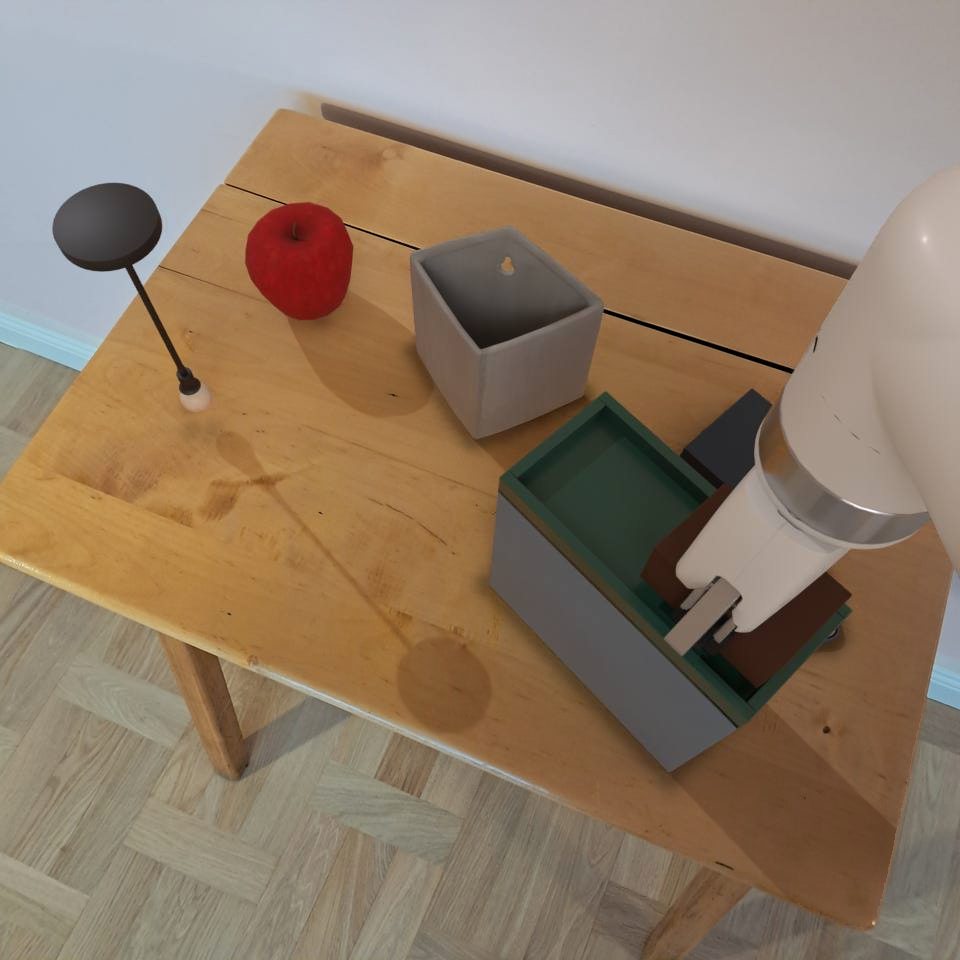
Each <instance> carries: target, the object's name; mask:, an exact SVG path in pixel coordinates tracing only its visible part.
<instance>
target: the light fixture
mask: <svg viewBox="0 0 960 960" xmlns="http://www.w3.org/2000/svg"><path fill="white" fill-rule="evenodd" d="M51 231H52V236H53V239H54V241H55V243H56V245H57V247H58V249H59V250H60V252H61V253H62V255H63V256H64V257H65V259H66V260H67V261H69V262H70V263H71V264H72V265H75V266H76V267H79V268H81V269H83V270H86V271H91V272H100V273H103V272H114V271H119V270H123V269H125V271H126V273H127V274H128V276H129V278H130V280H131V282H132V284H133V287H134V288H135V289H136V290H135V291H137V293H138V295H139V297H140V299H141V301H142V303H143V305H144V306H145V309H146V311H147V312H148V314H149V317H150V318H151V320H152V322H153V324H154V326H155V328H156V330H157V331H158V332H157V333H158V334H159V335H160V337H161V340H162V341H163V343H164V345H165V347H166V349H167V351H168V353H169V355H170V357H171V358H172V360H173V362H174V364H175V366H176V373H175V376H176V378H177V380H178V381H179V384H178V391H179V395H178V396H179V397H178V398H179V400H180V403H181V406H182V407H184V408H185V409H186V410H187V411H189V412H192V413H199V412H203V411H205V410H206V409H208V408H209V406H210V405H211V403H212V401H213V400H212V399H213V394H212V390H211V389H210V387H209V386H208V385H207V384H206V383H203V382H202V381H201V380H200V379H198V378H197V377H195V376H194V374H193V371H192V369H191V368H189V367H187V366H185V365H184V364H183V362H182V360H181V358H180V356H179V354H178V352H177V350H176V348H175V346H174V344H173V342H172V340H171V338H170V336H169V333H168V332H167V330H166V328H165V326H164V325H163V323H162V321H161V318H160V316H159V315H158V313H157V311H156V309H155V306H154V304H153V303H152V301H151V299H150V296H149V294H148V293H147V291H146V289H145V287H144V285H143V283H142V281H141V279H140V277H139V276H138V275H139V274H138V273H137V271H136V269H135V267H134V266H133V265H135V264H137V263H139V262H140V261H142V260H143V259H145V258H146V257H147V256H148V255H150V254H151V252H152V251H154V249H155V248H156V246H157V245H158V243H159V242H160V240H161V237H162V233H163V219H162V216H161V214H160V211H159V209H158V206H157V204H156V202H155V201H154V199H153V198H152V197H151V195H150V194H149V193H148V192H146V191H144V189H142V188H140V187H138V186H136V185H132V184H129V183H123V182H104V183H98V184H94V185H91V186H88V187H86V188H83V189H81V190H79V191H77V192H76V193H74V194H72V195H71V196H69V197H68V198H67V200H65V201H64V202H63V203H62V204H61V205H60V207H59V208H58V210H57V211H56V213H55V215H54V217H53V221H52V230H51Z"/></svg>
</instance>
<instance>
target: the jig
mask: <svg viewBox="0 0 960 960" xmlns="http://www.w3.org/2000/svg"><path fill="white" fill-rule="evenodd" d="M715 491H717V489H716V488H715V487H713V486H712V485H711V484H710V483H709V482H708V481H707V480H706V479H704V478H703V477H702V476H701V475H700V474H699V473H698V472H697V471H695V470H694V469H693V468H692V467H691V466H690V465H689V464H688V463H686V462H685V461H684V460H683V459H682V458H681V457H680V455H679V454H678V453H677V452H675V451H674V450H673V449H672V448H671V447H670V446H668V444H666V443H665V442H664V441H663V440H662V439H661V438H660V437H659V436H657V435H656V434H655V433H654V432H653V431H652V430H651V429H649V428H648V427H647V426H646V424H644V423H643V422H641V420H639V419H638V418H637V417H636V416H635V415H634V414H632V413H631V412H630V411H629V410H628V409H627V408H626V407H625V406H624V405H622V404H621V403H620V402H619V401H618V400H617V399H616V398H615V397H613V396H612V395H611V394H610V393H609V392H608V391H607V390H604V391H603V392H602V393H601V394H600V395H598V396H597V397H596V398H595V399H594V400H592V401H591V402H590V403H588V404H587V405H586V406H585V407H583V409H581V410H579V412H577V413H576V414H574V416H573V417H572V418H569V420H567V421H566V422H565V423H564V424H563V425H561V426H560V427H559V428H558V429H556V431H553V433H552V434H550V435H549V436H548V437H547V438H545V439H544V440H543V441H541V442H540V443H539V444H538V445H537V446H536V447H534V448H533V449H532V450H530V451H529V452H527V454H526V455H524V456H523V457H522V458H520V460H518V461H517V462H516V463H515V464H514V465H512V466H511V467H510V468H509V469H508V470H506V471H505V472H504V473H503V474H501V475H500V476H499V477H498V487H497V493H498V492H499V493H500V494H501V495H502V496H503V497H504V498H505V499H506V500H507V501H508V502H509V503H510V504H511V505H512V506H513V507H514V508H515V509H516V510H517V511H518V512H519V513H520V514H521V515H522V516H523V517H524V518H525V519H526V520H527V521H528V522H529V523H530V524H531V525H532V526H533V527H534V528H535V529H536V530H537V531H538V532H539V533H540V534H541V535H542V536H543V537H544V538H545V539H546V540H547V541H548V542H549V543H550V544H551V545H552V546H553V547H554V548H555V549H556V550H557V551H558V552H559V553H560V554H561V555H562V556H563V557H564V558H565V559H566V560H567V561H568V562H569V563H570V564H571V565H572V566H573V567H574V568H575V569H576V570H577V571H578V572H579V573H580V574H581V575H583V576H584V577H585V578H586V579H587V580H588V581H589V582H590V583H591V584H592V585H593V586H594V587H595V588H596V589H597V590H598V591H599V592H600V593H601V594H602V595H603V596H604V597H605V598H606V599H607V600H608V601H609V602H610V603H611V604H612V605H613V606H614V607H615V608H616V609H617V610H618V611H619V612H620V613H621V614H622V615H623V616H624V617H625V618H626V619H627V620H628V621H629V622H630V623H631V624H632V625H633V626H634V627H635V628H636V629H637V630H638V631H639V632H640V633H641V634H642V635H643V636H644V637H645V638H646V639H647V640H648V641H649V642H650V643H651V644H652V645H653V646H654V647H655V648H656V649H657V650H658V651H659V652H660V653H661V654H662V655H663V656H664V657H665V658H666V659H667V660H668V661H669V662H670V663H671V664H672V665H673V666H674V667H675V668H676V669H677V670H678V671H679V672H680V673H681V674H682V675H683V676H684V677H685V678H686V679H687V680H688V681H689V682H690V683H691V684H692V685H693V686H694V687H695V688H696V689H697V690H698V691H699V692H700V693H701V694H702V695H703V696H704V697H705V698H706V699H707V700H708V701H709V702H711V703H712V704H713V705H714V706H715V707H716V708H717V709H718V710H719V711H720V712H721V713H722V714H723V715H724V716H725V717H726V718H727V719H728V720H729V721H730V722H731V723H732V724H733V725H734V726H735V727H736V728H737V730H739V729H740V728H742V727H743V726H744V725H747V724H748V723H749V722H751V720H753V718H754V717H755V716H756V715H757V714H758V713H759V712H760V711H761V710H762V708H763V707H765V705H767V703H769V701H770V700H771V699H772V698H773V697H774V696H775V695H776V694H777V693H778V692H779V690H780V689H781V688H782V687H783V686H784V685H785V684H787V682H788V681H789V680H790V679H791V678H792V677H793V676H794V675H795V674H796V673H797V672H798V670H799V669H801V667H802V666H803V665H805V663H806V662H807V661H808V660H809V658H811V656H813V655H814V653H816V651H817V650H818V649H819V648H820V647H821V646H822V645H823V644H824V643H823V642H824V641H825V640H826V639H827V638H828V637H829V636H830V635H831V634H832V633H833V632H834V631H835V630H836V629H837V628H838V627H839V628H840V626H841V625H842V624H843V622H844V621H845V620H846V619H847V618H848V617H849V616H850V615H851V614H852V613H853V609H852V608H851V607H850V606H849V605H848V604H847V603H845V604H844V605H843V606H842V607H841V608H840V609H839V610H838V611H837V612H836V613H835V614H834V615H833V616H832V617H831V618H830V619H829V620H828V621H827V622H826V624H825V625H824V626H823V627H822V628H821V629H820V630H819V631H818V632H817V633H816V634H815V635H814V636H813V637H812V638H811V639H810V640H809V641H808V642H807V643H806V645H805V646H804V647H803V648H802V649H801V650H800V651H799V652H798V653H797V654H796V655H795V656H794V657H793V658H792V659H791V660H790V661H789V662H788V663H787V664H786V666H785V667H784V668H782V669H781V670H780V671H779V672H777V673H776V674H775V675H773V676H772V677H771V678H769V679H768V680H767V681H765V682H764V683H763V684H762V685H760V686H759V687H757V688H756V687H755V686H754V685H752V684H751V683H750V682H749V681H748V680H747V679H746V678H745V677H744V676H743V675H742V674H741V673H740V672H739V671H738V670H737V669H736V668H735V667H734V666H733V665H732V664H731V663H730V662H729V661H728V660H727V659H725V658H724V657H723V656H722V655H721V654H720V653H719V652H718V653H717V654H716V655H715V656H712V655H710V654H708V653H707V652H706V651H705V650H704V649H703V648H702V647H701V648H700V649H696V648H694V647H692V648H691V649H690V650H689V651H688V652H687V653H686V654H684V655H683V656H682V657H681V656H680V655H679V654H678V653H677V652H676V651H675V650H674V649H673V648H672V647H671V646H670V645H669V644H668V643H667V642H666V641H665V640H664V637H665V636H666V635H667V634H668V633H669V632H670V631H671V630H672V629H673V628H674V627H675V626H676V625H675V623H676V622H675V621H674V619H673V618H672V614H673V613H674V611H675V609H673V608H672V607H671V606H670V605H669V604H668V603H667V602H666V601H665V600H664V599H663V598H662V597H661V596H660V595H659V594H658V593H657V592H656V591H655V590H654V589H653V588H652V587H651V586H650V585H649V584H648V583H646V582H645V581H644V580H643V579H642V578H641V577H640V574H641V572H642V570H643V568H644V567H645V565H646V563H647V561H648V559H649V557H650V555H651V553H652V551H653V549H654V548H655V546H656V545H658V544H659V543H660V542H661V541H662V540H663V539H664V538H665V537H666V536H667V535H668V534H670V533H671V532H672V531H673V530H674V529H675V528H676V527H677V526H678V525H679V524H680V523H682V522H683V521H684V520H685V519H686V518H687V517H688V516H689V515H690V514H691V513H693V512H694V511H695V510H696V509H697V508H698V507H699V506H700V505H701V504H702V503H703V502H705V501H706V500H707V499H708V498H709V497H710V496H711V495H712V494H713V493H714V492H715Z"/></svg>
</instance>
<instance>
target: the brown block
mask: <svg viewBox="0 0 960 960" xmlns="http://www.w3.org/2000/svg"><path fill="white" fill-rule="evenodd" d="M732 491H733V489H732V488H730V487H729V486H728V485H727V484H723V485H722V486H721V487H720V488H719V489H718V490H717V491H715V492H714V493H713V494H712V495H711V496H710V497H709V498H708V499H707V500H706V501H705V502H703V503H702V504H701V505H700V506H699V507H698V508H697V509H696V510H695V511H694V512H693V513H691V514H690V515H689V516H688V517H687V518H686V519H685V520H684V521H683V522H682V523H680V524H679V525H678V526H677V527H676V528H675V529H674V530H673V531H672V532H671V533H670V534H668V535H667V536H666V537H665V538H664V539H663V540H662V541H661V542H660V543H659V544H658V545H656V546H655V548H654V549H653V551H652V553H651V555H650V557H649V559H648V561H647V563H646V565H645V567H644V568H643V570H642V572H641V574H640V577H641V578H642V579H643V580H644V581H645V582H646V583H648V584H649V585H650V586H651V587H652V588H653V589H654V590H655V591H656V592H657V593H658V594H659V595H660V596H661V597H662V598H663V599H664V600H665V601H666V602H667V603H668V604H669V605H670V606H671V607H672V608H673V609H675V610H676V609H677V607H678V606H679V604H680V603H681V601H682V600H683V599H684V597H685V596H686V594H687V593H688V592H689V591H690V590H692V589H689V588H687V587H686V586H685V585H684V584H683V583H682V582H681V581H680V580H679V578H678V577H677V576H676V566H677V563H678V562H679V560H680V559H681V558H682V556H683V555H684V554H685V552H686V551H687V550H688V548H689V547H690V546H691V544H692V543H693V542H694V540H695V539H696V538H697V536H698V535H699V534H700V532H701V531H702V530H703V528H704V527H705V525H706V524H707V523H708V521H709V520H710V519H711V518H712V516H713V515H714V514H715V512H716V511H717V510H718V509H719V507H720V506H721V505H722V503H723V502H724V501H725V500H726V498H727V497H728V496H729V495H730V494H731V492H732ZM852 595H853V594H852V593H851V592H850V591H849V589H847V588H846V587H844V585H842V584H841V583H840V582H839V581H837V580H836V579H835V578H834V577H833V576H832V575H831V574H830V573H828V571H825V572H824V573H823V574H822V575H821V576H820V577H818V578H817V579H816V580H815V581H814V582H812V583H811V584H810V585H809V586H808V587H806V588H805V589H804V590H803V591H802V592H801V593H799V594H798V595H797V596H796V597H794V598H793V599H792V600H791V601H789V602H788V603H787V604H786V605H784V606H783V607H782V608H781V609H779V610H778V611H777V612H776V613H774V614H773V615H772V616H771V617H769V618H768V619H767V620H765V621H764V622H763V623H762V624H760V625H759V626H758V627H756V628H755V629H754V630H752V631H751V632H737V633H736V634H735V636H734V637H733V638H732V639H731V640H730V641H729V642H728V643H727V644H726V645H725V646H724V647H723V648H722V649H721V650H720V651H719V653H720V654H721V655H722V656H723V657H724V658H725V659H727V660H728V661H729V662H730V663H731V664H732V665H733V666H734V667H735V668H736V669H737V670H738V671H739V672H740V673H741V674H742V675H743V676H744V677H745V678H746V679H747V680H748V681H749V682H750V683H751V684H752V685H754V686H755V687H756V688H757V687H759V686H760V685H762V684H763V683H764V682H765V681H767V680H768V679H769V678H771V677H772V676H773V675H775V674H776V673H777V672H779V671H780V670H781V669H782V668H784V667H785V666H786V664H787V663H788V662H789V661H790V660H791V659H792V658H793V657H794V656H795V655H796V654H797V653H798V652H799V651H800V650H801V649H802V648H803V647H804V646H805V645H806V643H807V642H808V641H809V640H810V639H811V638H812V637H813V636H814V635H815V634H816V633H817V632H818V631H819V630H820V629H821V628H822V627H823V626H824V625H825V624H826V622H827V621H828V620H829V619H830V618H831V617H832V616H833V615H834V614H835V613H836V612H837V611H838V610H839V609H840V608H841V607H842V606H843V605H844V604H846V602H848V601H849V600H850V598H851V597H852ZM725 613H726V614H727V615H728V616H729V617H731V616H732V611H730V610H729V609H728V610H727V611H726V612H725ZM736 628H737V627H736Z"/></svg>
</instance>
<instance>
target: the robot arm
mask: <svg viewBox="0 0 960 960" xmlns="http://www.w3.org/2000/svg"><path fill="white" fill-rule="evenodd" d="M754 456H755V466H754V467H753V468H752V469H751V470H750V471H749V472H748V473H747V475H746V476H745V477H744V478H743V479H742V480H741V482H740V483H739V484H738V485H737V486H736V488H735V489H734V490H733V491H732V492H731V494H730V495H729V496H728V497H727V498H726V500H725V501H724V502H723V503H722V505H721V506H720V507H719V509H718V510H717V511H716V512H715V514H714V515H713V516H712V518H711V519H710V520H709V521H708V523H707V524H706V525H705V527H704V528H703V530H702V531H701V532H700V534H699V535H698V536H697V538H696V539H695V540H694V542H693V543H692V544H691V546H690V547H689V548H688V550H687V551H686V552H685V554H684V555H683V556H682V558H681V559H680V560H679V562H678V563H677V566H676V576H677V577H678V578H679V580H680V581H681V582H682V583H683V584H684V585H685V586H686V587H687V588H689V589H692V590H690V591H689V592H688V593H687V594H686V596H685V597H684V599H683V600H682V601H681V603H680V604H679V606H678V607H677V609H676V610H675V611H674V613H673V614H672V618H673V619H674V621H675V622H676V623H675V625H676V626H675V627H674V628H673V629H672V630H671V631H670V632H669V633H668V634H667V635H666V636H665V637H664V640H665V641H666V642H667V643H668V644H669V645H670V646H671V647H672V648H673V649H674V650H675V651H676V652H677V653H678V654H679V655H680V656H681V657H682V656H683V655H684V654H686V653H687V652H688V651H689V650H690V649H691V648H692V647H694V648H696V649H700V648H701V647H702V648H703V649H704V650H705V651H706V652H707V653H708V654H710V655H712V656H715V655H716V654H717V653H718V652H719V651H720V650H721V649H722V648H723V647H724V646H725V645H726V644H727V643H728V642H729V641H730V640H731V639H732V638H733V637H734V636H735V634H736V633H737V632H751V631H752V630H754V629H755V628H756V627H758V626H759V625H760V624H762V623H763V622H764V621H765V620H767V619H768V618H769V617H771V616H772V615H773V614H774V613H776V612H777V611H778V610H779V609H781V608H782V607H783V606H784V605H786V604H787V603H788V602H789V601H791V600H792V599H793V598H794V597H796V596H797V595H798V594H799V593H801V592H802V591H803V590H804V589H805V588H806V587H808V586H809V585H810V584H811V583H812V582H814V581H815V580H816V579H817V578H818V577H820V576H821V575H822V574H823V573H824V572H825V571H826V572H828V570H829V569H830V568H831V567H832V566H834V565H835V564H836V563H837V562H839V561H840V559H842V558H843V557H844V556H845V555H846V554H847V553H848V552H849V551H851V550H875V549H876V550H877V549H883V548H888V547H891V546H893V545H897V544H899V543H902V542H904V541H905V540H907V539H909V538H911V537H912V536H913V535H914V534H916V533H917V532H918V531H920V530H921V529H922V528H923V527H924V526H926V525H927V524H928V523H929V522H930V521H931V522H932V524H933V526H934V528H935V530H936V533H937V535H938V537H939V540H940V542H941V544H942V546H943V548H944V550H945V552H946V554H947V556H948V558H949V560H950V563H951V565H952V567H953V570H954V571H955V573H956V575H957V577H958V578H959V580H960V163H958V164H955V165H952V166H949V167H947V168H945V169H943V170H940V171H938V172H936V173H934V174H933V175H931V176H929V177H928V178H926V179H925V180H924V181H922V182H921V183H920V184H918V185H917V186H915V187H914V188H913V189H911V190H910V191H909V192H908V193H907V194H906V195H905V196H904V197H903V198H902V199H901V200H900V201H899V202H898V204H897V205H896V206H895V208H894V209H893V210H892V211H891V213H890V214H889V216H888V217H887V219H886V220H885V222H884V223H883V225H882V226H881V228H880V229H879V231H878V232H877V234H876V236H875V237H874V239H873V241H872V242H871V244H870V246H869V248H868V249H867V251H866V252H865V254H864V255H863V257H862V259H861V260H860V262H859V263H858V265H857V266H856V268H855V270H854V272H853V273H852V275H851V277H850V278H849V279H848V281H847V283H846V285H845V287H844V288H843V290H842V291H841V293H840V294H839V296H838V298H837V299H836V301H835V302H834V304H833V305H832V308H830V310H829V312H828V314H827V316H826V317H825V319H824V321H823V322H822V324H821V325H820V327H819V328H818V331H816V334H815V335H814V337H813V339H812V340H811V341H810V343H809V345H808V347H807V348H806V350H805V352H804V354H802V357H801V358H800V360H799V362H798V363H797V365H796V367H795V369H794V370H793V371H792V374H791V375H790V377H789V378H788V379H787V381H786V382H785V384H784V386H783V387H782V389H781V390H780V392H779V394H778V395H777V397H776V398H775V401H774V402H773V404H772V407H771V408H770V410H769V412H768V413H767V415H766V416H765V418H764V420H763V422H762V423H761V425H760V427H759V430H758V433H757V436H756V440H755V449H754ZM728 609H729V610H730V611H732V616H731V617H729V616H728V615H727V614H726V613H725V612H726V611H727V610H728ZM736 627H737V628H736Z"/></svg>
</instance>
